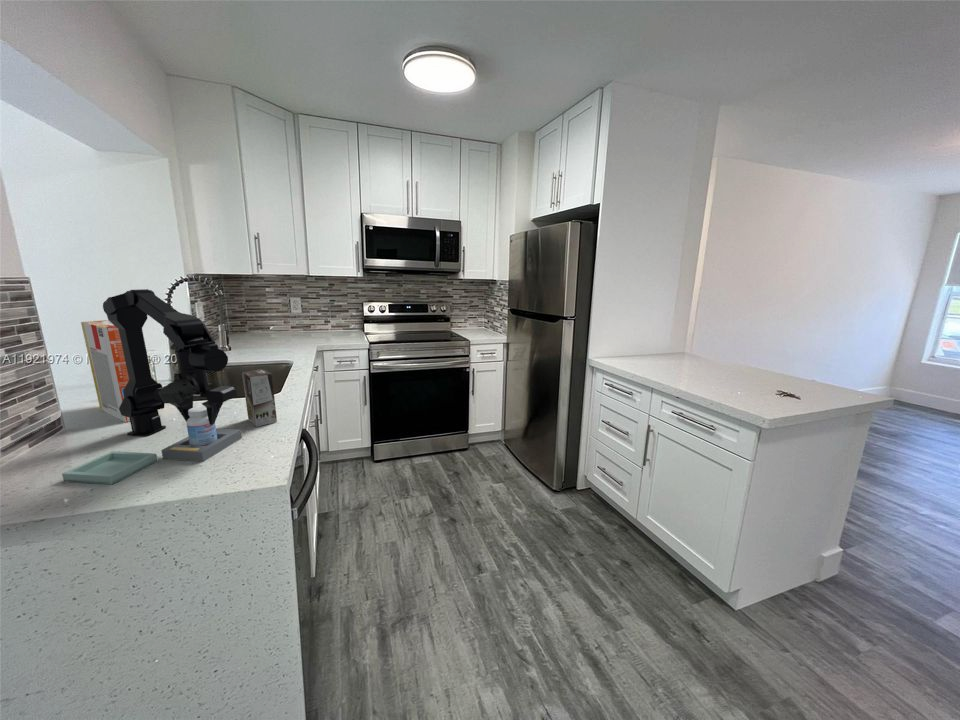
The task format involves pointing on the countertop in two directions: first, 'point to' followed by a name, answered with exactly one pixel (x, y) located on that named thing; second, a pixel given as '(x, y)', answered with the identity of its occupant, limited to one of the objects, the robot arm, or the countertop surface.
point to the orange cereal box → (107, 365)
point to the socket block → (201, 447)
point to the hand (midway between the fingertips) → (201, 423)
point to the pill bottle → (200, 427)
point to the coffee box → (259, 397)
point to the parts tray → (110, 467)
